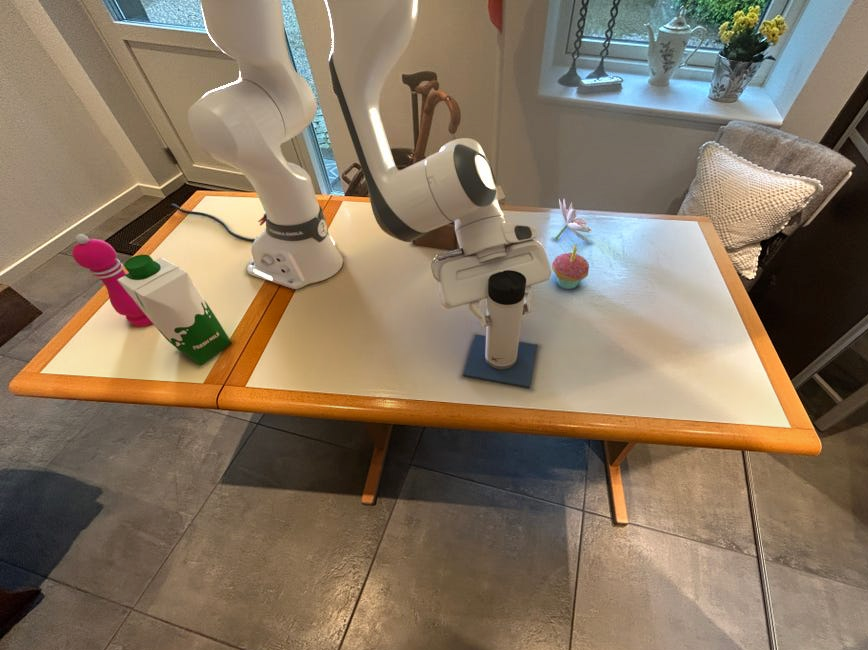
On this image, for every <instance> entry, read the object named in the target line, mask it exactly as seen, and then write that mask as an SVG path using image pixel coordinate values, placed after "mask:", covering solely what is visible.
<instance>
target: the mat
mask: <svg viewBox="0 0 868 650" xmlns="http://www.w3.org/2000/svg"><path fill="white" fill-rule="evenodd" d="M537 348H538V344H537V343H529V342H524V341H519V345H518V353H517V360H516V363H515V364H514V365H513V366H512V367H510V368H508V369H504V370H500V369H495V368H493V367H491V366H490V365H489V364H488V363H487V362H486V359H485V352H486V335H483V334H482V335H481V334H474V338H473V341H472V345H471V347H470V350H469V354H468V357H467V360H466V364H465V366H464V369H463V373H462V376H463V377H464V378H470V379H471V378H472V379H477V380H482V381H486V382H487V381H488V382H492V383H493V382H494V383H499V384H503V385H509V386H515V387H520V388H526V389H531V384H532V377H533V372H534V367H535V366H534V365H535V361H536V354H537Z"/></svg>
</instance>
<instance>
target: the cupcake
mask: <svg viewBox="0 0 868 650" xmlns="http://www.w3.org/2000/svg"><path fill="white" fill-rule="evenodd" d="M577 249H578V246H577V243H575V244H574V246H573V250H572V252H565V253H562V254H560V255H557V256H555V258H554V259H553V261H552V264H551V270H552V272H553V274H555V276H556V280H557V284H558V285H559V287H561V288H563V289H566V290H573V289H575V288H576V287H578V285H579V283H580V282H581V281H582V280H584V279H585V278H586V277H588V275H589V272H590V271H589V270H590V264H589V262H588V260H587V259H586V258H585V257H583V256H581V255H580V254H578V253H577Z"/></svg>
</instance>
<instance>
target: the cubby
mask: <svg viewBox="0 0 868 650" xmlns="http://www.w3.org/2000/svg"><path fill="white" fill-rule="evenodd" d="M412 245H413V246H420V247H426V248H434V249H441V250H448V251H452V250H456V249H460V247H459V243H458V240H457V236H456V233H455V222H452V223H449V224H447V225H444V226H441V227H439V228H436V229H434V230H431V231H429V232H428V233H427V234H425V235H423V236H421V237H419V238H417V239H415V240H413V241H412Z"/></svg>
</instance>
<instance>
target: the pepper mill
mask: <svg viewBox="0 0 868 650" xmlns="http://www.w3.org/2000/svg"><path fill="white" fill-rule="evenodd" d="M74 240H75V241H76V244H75V245H74V246H73V248H72V252H71V254H72V258H73V259H74V261H75V262H76V263H77V264H78V265H79V266H80V267H82V268H85V269H88V272H89V273H90V274H91V275H92V277H94V278H95V279H99V280H100V281H101V282H102V283H103V285H104V287H105V288H106V291H107V294H108V298H109V301H110V305H111V306H112V308H113V310H114V311H115V312H116V313H117V314H119V315H122V316H124V317H125V318H126V320H127V321H128V322H129V323H130V324H131V325H132V326H134V327H141V328H142V327H147V326H150V325H154V324H153V323H152V322H151V321H150V319H149V318H148V317H147V316H146V315H145V313H144V312H143V311H142V310H141V309H140V307H139V306H138V305H137V304H136V302H135V301H134V300H133V299H132V297H131V296H130V295H129V294H128V293H127V292H126V290H125V289H124V288H123V286H122V285H121V284H120V283H119V281H118V279H119V278H121V277H124V275H126V274H127V273H126V271H125V270H124V263H121V261H120V259H118V258H117V251H116V250H115V248H114V247H113V246H112V245H111V244H110V243H109V242H106V241H104V240H102V239H98V238H89V237H88V236H87V235H86V234H83V233H78V234H76V235H75V237H74Z"/></svg>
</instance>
